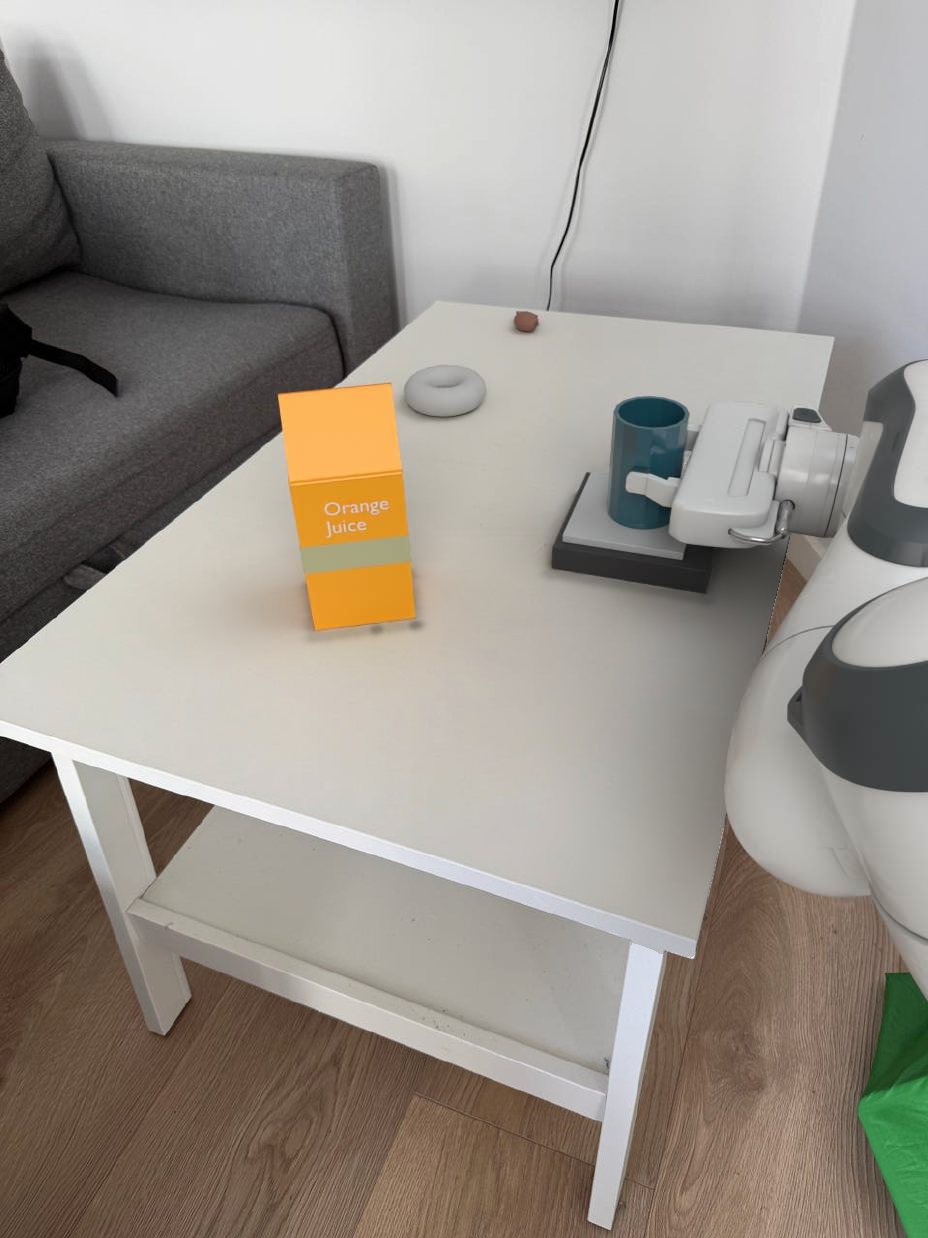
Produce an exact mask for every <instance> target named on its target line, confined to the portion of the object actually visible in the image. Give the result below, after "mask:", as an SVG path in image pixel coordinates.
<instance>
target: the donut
mask: <svg viewBox="0 0 928 1238" xmlns="http://www.w3.org/2000/svg"><path fill="white" fill-rule="evenodd" d="M403 395H404V399H405V400H404V401H406V403H407V404H408V405H409V406H410V407H411V409H413V410H414V411H415V412H418V413H419V414H421V415H426V416H430V417H441V418H444V417H445V418H446V417H455V416H460V415H464V414H466V413H470V412H471V411H474V410H475V409H476V408H477V407H479V406H481V404H482V403H483V401H484V399H485V398H486V397H485V396H486V395H487V386H486V382H485V379H484V378H483V377H482V376H481V375H480V374H479V373H478V372H477V371H476V370H474V369H472V368H469V367H465V366H461V365H455V364H440V365H434V366H428V367H425V368H423V369H420V370H417V371H416V372H414V373H413V374H411V376H409V378H408V379H407V381H406V382H405V384H404V388H403Z"/></svg>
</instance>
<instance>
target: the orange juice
mask: <svg viewBox="0 0 928 1238" xmlns="http://www.w3.org/2000/svg"><path fill="white" fill-rule="evenodd" d="M277 397H278V405H279V413H280V420H281V428H282V435H283V436H282V437H283V444H284V451H285V458H286V467H287V473H288V474H287V476H288V477H287V478H288V480H287V481H288V487H289V493H290V499H291V504H292V510H293V515H294V516H293V517H294V521H295V526H296V527H295V528H296V532H297V538H298V542H299V552H300V557H301V563H302V564H301V565H302V569H303V574H304V577H305V582H306V588H307V594H308V599H309V604H310V605H309V606H310V611H311V616H312V621H313V627H314V631H321V630H322V631H323V630H332V629H341V628H347V627H355V626H363V625H364V626H365V625H370V624H379V623H387V622H395V621H404V620H411V619H416V605H415V596H414V595H415V594H414V585H413V583H414V582H413V573H412V555H411V544H410V534H409V529H408V516H407V505H406V493H405V483H404V473H403V472H404V471H403V466H402V460H401V449H400V442H399V435H398V426H397V419H396V418H397V417H396V410H395V402H394V401H395V400H394V393H393V386H392V382H383V383H372V384H364V385H363V384H362V385H352V386H342V387H331V388H322V389H312V390H302V391H291V392H282V393H277Z"/></svg>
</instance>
